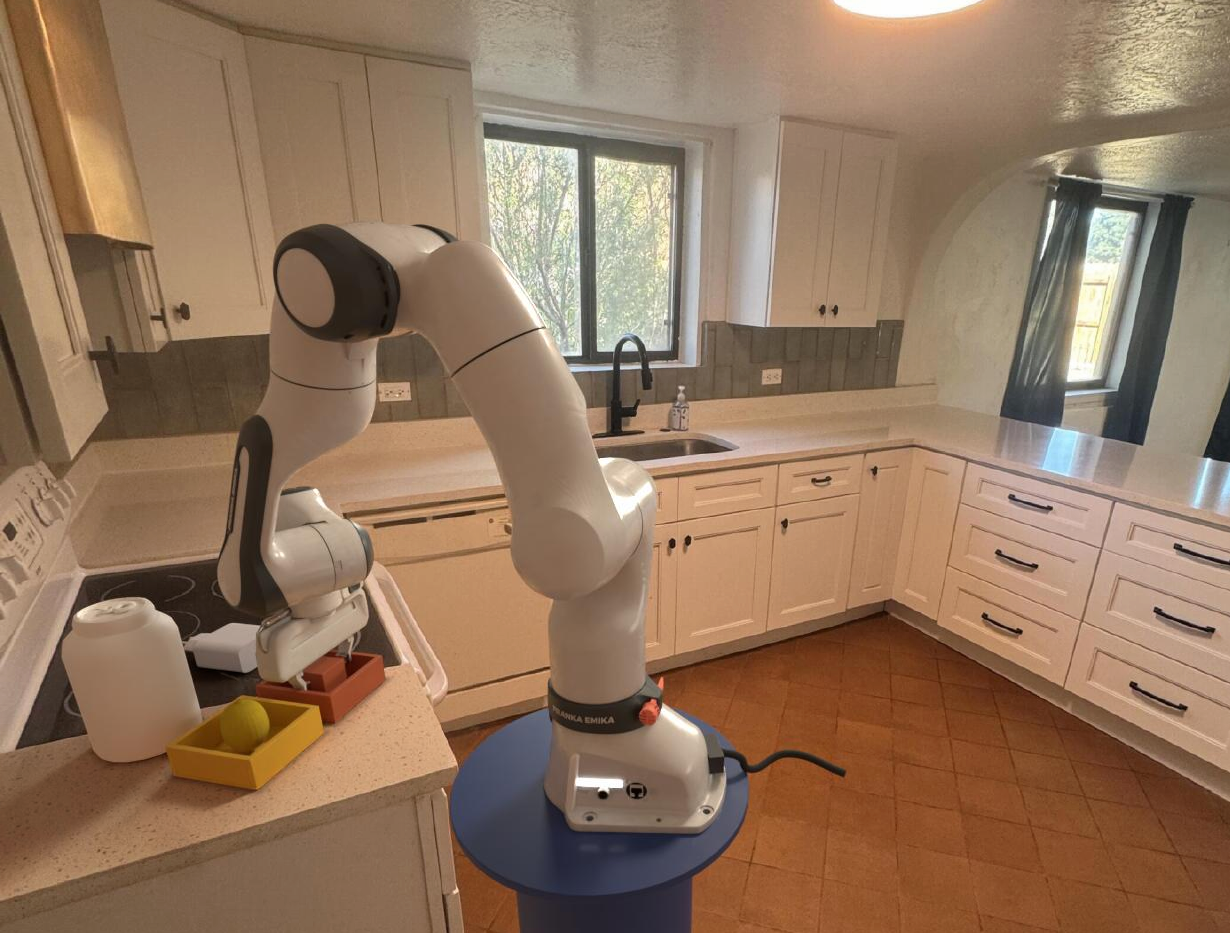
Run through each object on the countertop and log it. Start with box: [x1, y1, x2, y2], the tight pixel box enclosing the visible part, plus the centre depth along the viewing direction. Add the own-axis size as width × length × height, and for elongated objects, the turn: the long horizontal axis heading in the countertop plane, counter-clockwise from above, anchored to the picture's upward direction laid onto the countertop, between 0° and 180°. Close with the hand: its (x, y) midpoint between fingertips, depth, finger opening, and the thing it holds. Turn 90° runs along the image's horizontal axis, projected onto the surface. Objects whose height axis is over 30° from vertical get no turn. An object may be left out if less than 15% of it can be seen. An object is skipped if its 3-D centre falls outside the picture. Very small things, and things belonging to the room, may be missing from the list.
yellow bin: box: [165, 694, 325, 791], centre depth 93 cm, size 13×13×4 cm
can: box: [61, 596, 204, 763], centre depth 93 cm, size 12×12×20 cm
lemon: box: [220, 698, 270, 752], centre depth 92 cm, size 6×6×8 cm
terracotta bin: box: [254, 648, 387, 724], centre depth 107 cm, size 13×13×4 cm
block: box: [301, 656, 347, 693], centre depth 106 cm, size 5×5×5 cm
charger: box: [181, 622, 264, 674], centre depth 118 cm, size 5×9×15 cm
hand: (325, 677), depth 106 cm, fingers open, 8 cm apart
